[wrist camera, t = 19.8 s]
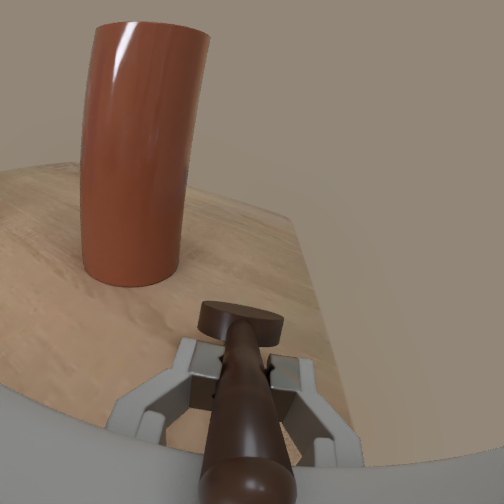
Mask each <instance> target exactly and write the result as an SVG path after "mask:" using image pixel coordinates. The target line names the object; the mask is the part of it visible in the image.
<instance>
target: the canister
mask: <svg viewBox="0 0 504 504" xmlns="http://www.w3.org/2000/svg"><path fill="white" fill-rule="evenodd" d="M209 43H210V36H209V35H208V34H206V33H204V32H201V31H199V30H196V29H192V28H189V27H184V26H180V25H174V24H167V23H158V22H139V21H136V22H118V23H111V24H106V25H103V26H100V27H98V28H96V31H95V36H94V41H93V46H92V52H91V58H90V64H89V71H88V77H87V85H86V93H85V102H84V112H83V124H82V138H81V160H80V221H81V242H82V256H83V265H84V268H85V269H86V271H87V272H88V273H89V274H90V275H91V276H92V277H94V278H95V279H97V280H99V281H101V282H104V283H107V284H110V285H115V286H122V287H139V286H146V285H151V284H154V283H158V282H160V281H162V280H164V279H166V278H168V277H169V276H171V275H172V274H173V273H174V272H175V270H176V269H177V267H178V263H179V252H180V241H181V230H182V220H183V211H184V202H185V193H186V185H187V177H188V169H189V161H190V154H191V147H192V140H193V133H194V126H195V120H196V114H197V108H198V102H199V96H200V90H201V84H202V79H203V73H204V68H205V63H206V57H207V52H208V47H209Z"/></svg>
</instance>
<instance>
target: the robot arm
mask: <svg viewBox="0 0 504 504" xmlns="http://www.w3.org/2000/svg"><path fill="white" fill-rule="evenodd" d="M224 352H225V346H223V345H218V344H213V343H209V342H205V341H200V340H194V339H190V338H186V337H183V338H182V339H181V342H180V344H179V347H178V350H177V353H176V356H175V359H174V362H173V365H172V368H171V370H170V369H166V370H164V371H163V372H161V373H159V374H158V375H156V376H155V377H153V378H151V379H150V380H148V381H147V382H145V383H143V384H142V385H140V386H139V387H137V388H135V389H134V390H132V391H131V392H129V393H127V394H126V395H124V396H122V397H121V398H119V399H118V400H117V401H116V403H115V405H114V408H113V410H112V412H111V415H110V417H109V419H108V422H107V424H106V426H105V429H104V428H102V427H99V426H96V425H93V424H90V423H88V422H85V421H82V420H80V419H77V418H74V417H72V416H69V415H67V414H65V413H62V412H60V411H57V410H55V409H53V408H50V407H48V406H46V405H44V404H41V403H39V402H37V401H35V400H33V399H31V398H29V397H27V396H25V395H23V394H21V393H19V392H17V391H15V390H13V389H11V388H9V387H7V386H5V385H3V384H1V383H0V504H200V502H199V498H198V486H199V480H200V474H201V469H202V463H203V458H204V455H203V454H198V453H193V452H188V451H183V450H179V449H174V448H170V447H166V428H168V427H169V426H170V425H171V424H172V423H173V422H174V421H176V420H177V419H178V418H179V417H180V416H181V415H182V414H183V413H185V412H186V411H187V410H188V409H189V407H191V408H196V409H201V410H207V411H212V408H213V403H214V397H215V392H216V386H217V383H218V382H219V378H220V374H221V368H222V363H223V357H224ZM265 373H266V376H267V380H268V384H269V387H270V391H271V395H272V398H273V402H274V406H275V409H276V413H277V417H278V420H279V422H282V424H283V426H284V428H285V429H286V431H287V432H288V434H289V436H290V437H291V439H292V441H293V442H294V444H295V445H296V447H297V449H298V450H299V452H300V453H301V455H302V458H301V459H300V461H299V462H298V463H297V465H296V466H292V470H293V473H294V477H295V480H296V484H297V499H296V503H295V504H504V447H500V448H496V449H492V450H488V451H484V452H479V453H475V454H470V455H465V456H460V457H454V458H448V459H443V460H435V461H428V462H421V463H412V464H402V465H391V466H376V467H375V466H374V467H365V465H364V459H363V453H362V447H361V441H360V438H359V436H358V435H357V434H356V433H355V432H354V431H353V430H352V429H351V428H350V427H349V425H348V424H347V423H346V422H345V421H344V420H343V419H342V418H341V417H340V415H339V414H338V413H337V412H336V411H335V410H334V409H333V408H332V406H331V405H330V404H329V403H328V402H327V401H326V400H325V399H324V397H323V396H322V395H321V394H317V390H316V381H315V373H314V365H313V361H312V359H305V358H297V357H289V356H282V355H275V354H270V355H269V357H268V360H267V368H266V369H265Z"/></svg>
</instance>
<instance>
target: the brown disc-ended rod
mask: <svg viewBox="0 0 504 504" xmlns="http://www.w3.org/2000/svg"><path fill="white" fill-rule="evenodd" d="M283 322H284V317H282V316H281V315H278V314H275V313H272V312H269V311H265V310H261V309H257V308H253V307H248V306H243V305H238V304H232V303H226V302H218V301H203V302H202V305H201V310H200V315H199V321H198V326H197V328H198V330H199V331H200V332H202V333H203V334H205V335H207V336H210V337H212V338H215V339H218V340H222V341H225V344H224V346H225V352H224V357H223V363H222V368H221V374H220V378H219V382H218V383H217V386H216V392H215V397H214V403H213V408H212V413H211V419H210V424H209V430H208V435H207V441H206V446H205V452H204V458H203V463H202V469H201V474H200V480H199V486H198V498H199V502H200V504H295V503H296V499H297V484H296V480H295V477H294V473H293V470H292V466H291V463H290V459H289V456H288V452H287V449H286V445H285V442H284V438H283V435H282V431H281V427H280V424H279V420H278V417H277V413H276V409H275V406H274V402H273V398H272V395H271V391H270V387H269V384H268V380H267V376H266V373H265V369H264V365H263V361H262V358H261V354H260V350H259V347H273V346H277V345H278V344H279V341H280V336H281V331H282V326H283Z"/></svg>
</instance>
